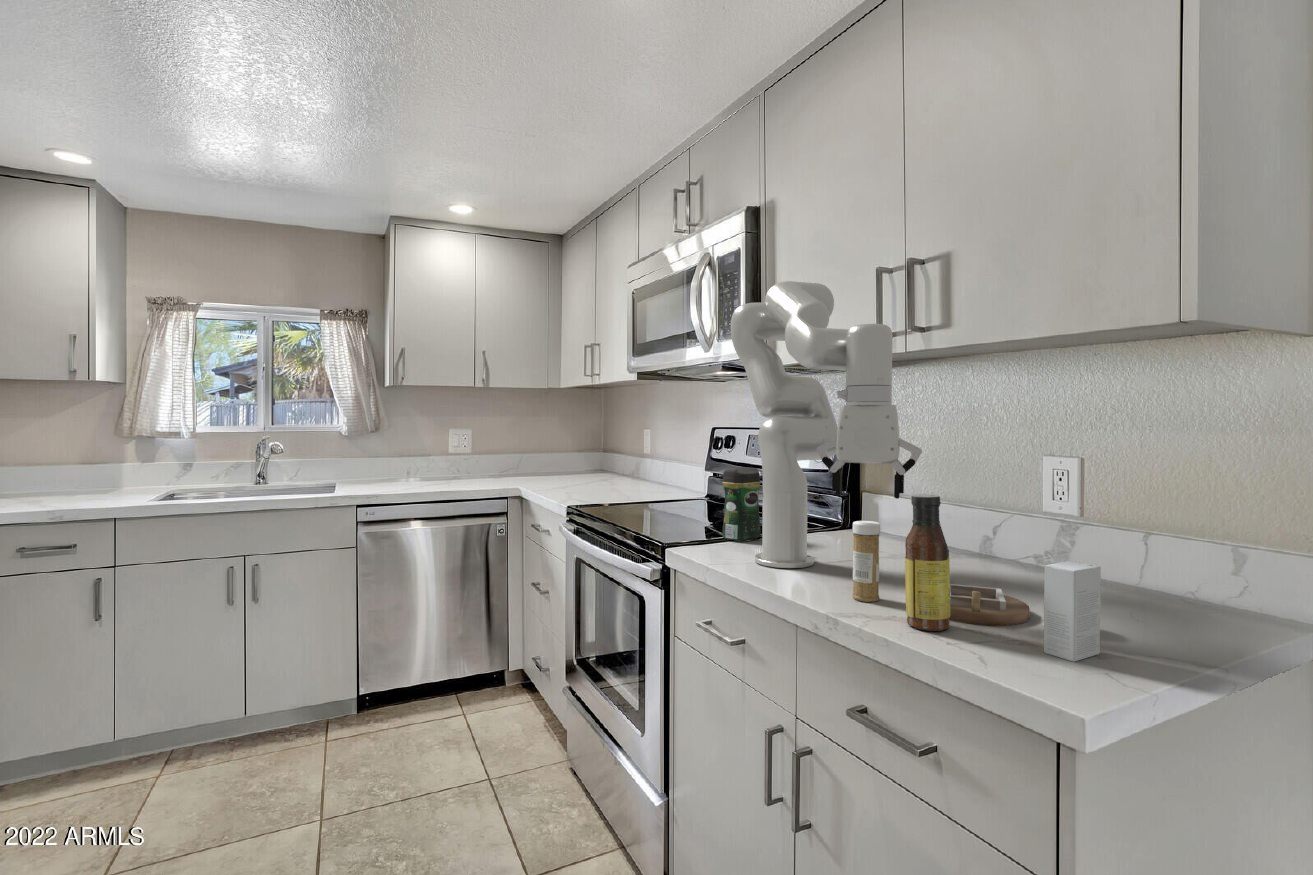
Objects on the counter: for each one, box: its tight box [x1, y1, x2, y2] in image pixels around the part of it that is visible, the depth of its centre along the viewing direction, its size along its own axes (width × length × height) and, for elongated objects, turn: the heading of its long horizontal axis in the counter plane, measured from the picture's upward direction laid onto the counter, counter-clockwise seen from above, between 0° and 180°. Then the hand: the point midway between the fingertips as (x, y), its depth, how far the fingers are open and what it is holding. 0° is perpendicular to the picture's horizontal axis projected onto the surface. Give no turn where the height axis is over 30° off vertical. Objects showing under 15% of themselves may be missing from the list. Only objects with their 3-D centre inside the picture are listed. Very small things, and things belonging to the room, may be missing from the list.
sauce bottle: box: [904, 493, 951, 632], centre depth 101 cm, size 7×6×20 cm
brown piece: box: [950, 583, 1031, 627], centre depth 109 cm, size 16×16×4 cm
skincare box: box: [1043, 560, 1102, 663], centre depth 89 cm, size 6×4×12 cm
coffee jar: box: [722, 466, 762, 542], centre depth 172 cm, size 10×8×19 cm
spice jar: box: [852, 520, 881, 603], centre depth 116 cm, size 5×5×13 cm
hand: (867, 496), depth 115 cm, fingers open, 9 cm apart
